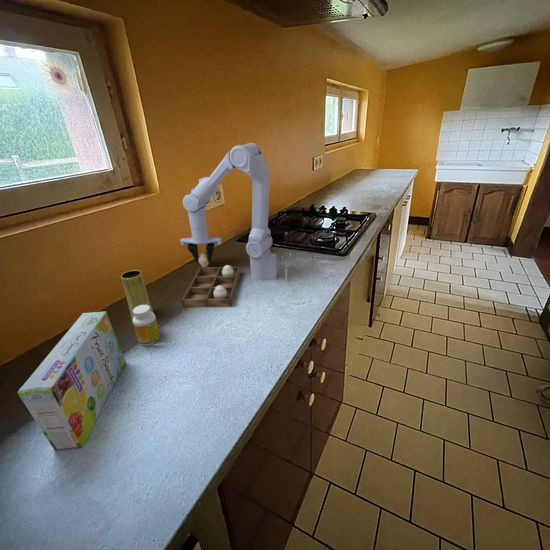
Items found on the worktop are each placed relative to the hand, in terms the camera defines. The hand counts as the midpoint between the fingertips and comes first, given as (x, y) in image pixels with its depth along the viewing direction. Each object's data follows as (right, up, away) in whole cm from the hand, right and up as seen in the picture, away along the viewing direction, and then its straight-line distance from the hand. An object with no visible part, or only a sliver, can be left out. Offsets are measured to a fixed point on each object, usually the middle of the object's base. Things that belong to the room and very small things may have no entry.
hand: (204, 261), depth 114 cm
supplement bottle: (-6, -22, -35) cm, 41 cm away
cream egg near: (+10, -13, -20) cm, 25 cm away
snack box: (-11, -31, -51) cm, 61 cm away
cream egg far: (+10, -6, -7) cm, 14 cm away
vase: (-12, -17, -25) cm, 33 cm away
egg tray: (+7, -10, -13) cm, 18 cm away
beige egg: (0, -1, +1) cm, 1 cm away
